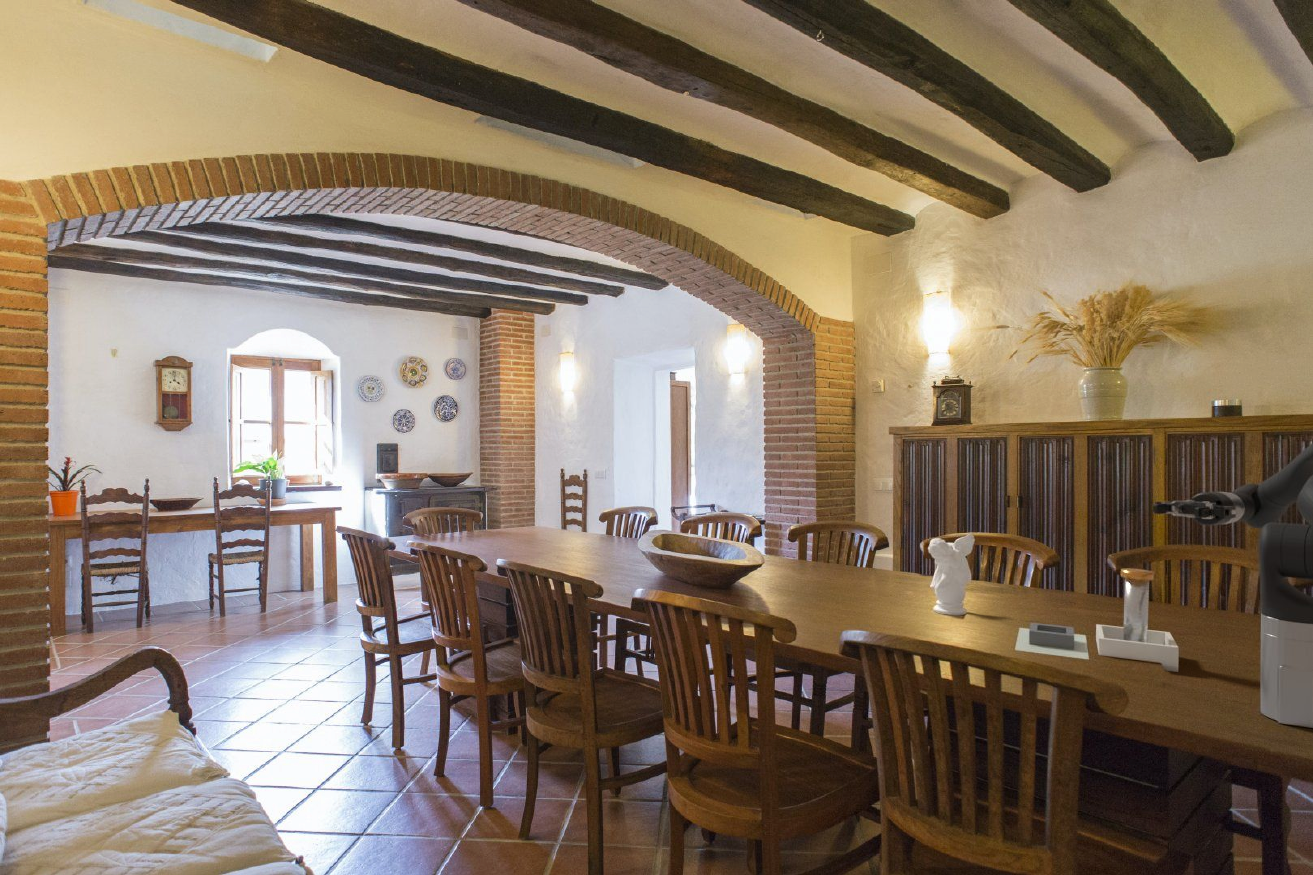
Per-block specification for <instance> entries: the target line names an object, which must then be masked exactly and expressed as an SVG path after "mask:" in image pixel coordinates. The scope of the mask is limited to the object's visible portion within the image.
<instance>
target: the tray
mask: <svg viewBox="0 0 1313 875" xmlns="http://www.w3.org/2000/svg"><path fill="white" fill-rule="evenodd" d="M1095 628H1096V630H1095V640H1096V647H1097V651H1098V655H1099V656H1105V657H1110V658H1111V657H1113V658H1120V659H1129V660H1137V661H1142V662H1143V661H1144V662H1152V663H1160V664H1161V666H1162V668H1163V670H1164V671H1166V672H1167V671H1168V672H1173V673H1174V672H1177V673H1179V651H1180V650H1179V649H1180V648H1179V646H1178V644H1177V642H1176V641H1175V639H1174V637H1173V636H1172V634H1171V632H1170V631H1161V630H1153V629H1148V636H1147V643H1144V642H1135V641H1126V640H1123V633H1124V626H1116V625H1108V624H1107V625H1106V624H1098V623H1096V624H1095Z"/></svg>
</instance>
